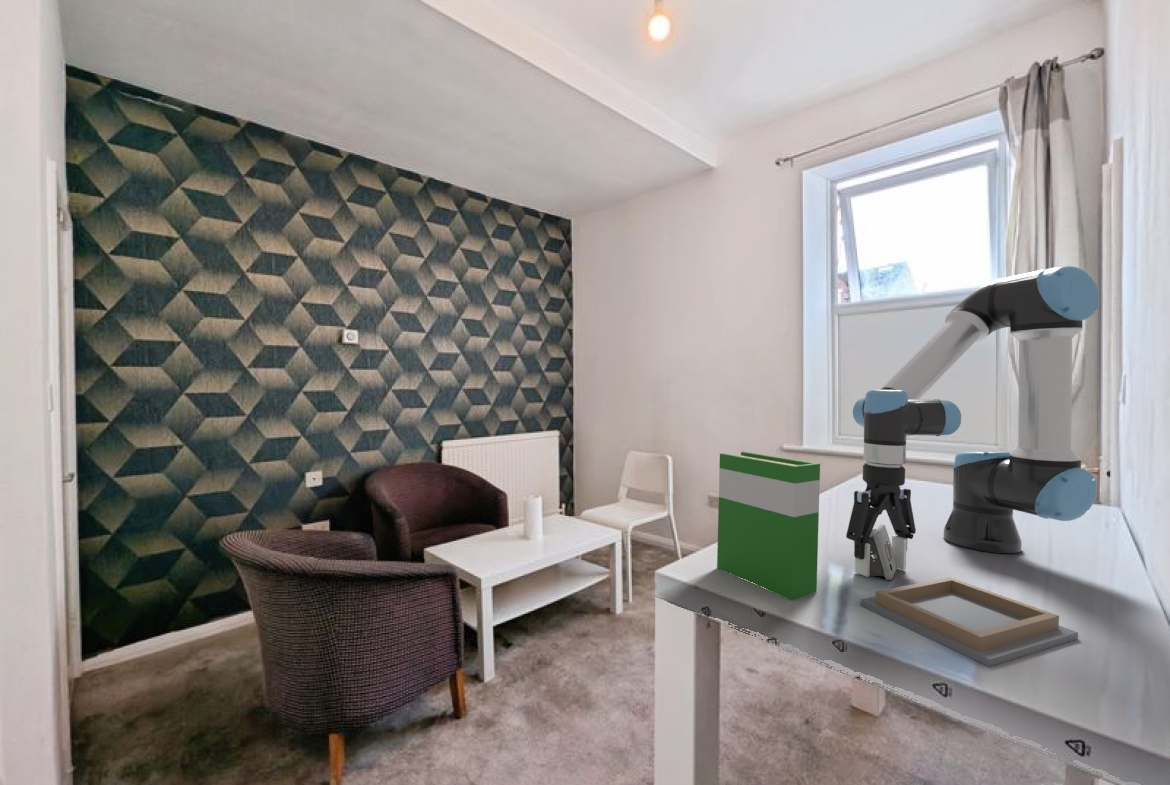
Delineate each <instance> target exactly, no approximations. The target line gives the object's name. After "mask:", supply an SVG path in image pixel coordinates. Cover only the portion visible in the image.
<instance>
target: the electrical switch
mask: <svg viewBox="0 0 1170 785" xmlns="http://www.w3.org/2000/svg"><path fill="white" fill-rule="evenodd" d="M862 537H863V536H862ZM867 543H868V544H870V572H869V577H875V576H876V577H877V576H878V577H884V578H885V580H886V581H891V580H892V579H893V577H894V575H895V574H896V572H897V570H898V568H897V564H896V560H895V557H894V553H893V550H892V542H891V539H890V536H889V533H888V530H887V528H886V525H885V524H879V526H878V527H877V528H873V529H872V532H871V534H870V536H869V539H868V541H867Z"/></svg>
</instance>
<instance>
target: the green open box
mask: <svg viewBox="0 0 1170 785" xmlns="http://www.w3.org/2000/svg"><path fill="white" fill-rule="evenodd" d="M718 469H719V473H718V475H719V476H718V477H719V478H718V479H719V480H718V512H717V513H718V515H717V521H718V522H717V550H716V551H717V552H716V553H717V556H716V559H717V560H716V562H717V563H716V568H718V569H717V570H720V569H721V570H720V571H722V570H723V572H724V571H726V572H725V573H727V572H728V573H727V574H729V573H731V574H733V575H735V576H734V577H736V576H738V577H740V578H743V579H746V580H748V581H750V582H753V583H755V584H757V585H759V586H762V587H764V588H766V589H768V590H770V591H773V592H775V593H777V594H779V595H778V596H780V595H781V596H780V597H782V596H783V597H782V598H784V597H786V598H785V599H787V598H788V599H787V600H789V599H790V600H789V601H791V600H792V601H795V600H797V599H801V598H803V596H804V597H806V595H807V596H809V594H810V595H812V594H814V592H815V593H817V591H818V590H817V588H818V587H817V586H818V585H817V584H818V582H817V581H818V551H819V550H818V549H819V517H820V516H819V515H820V488H821V487H820V483H821V482H820V479H821V463H819V462H811V461H804V460H799V459H794V458H793V459H792V458H786V457H780V456H774V455H768V454H761V453H755V452H749V451H740V455H734V454H733V455H732V454H728V453H719V468H718ZM731 574H730V575H731ZM733 575H732V576H733ZM738 577H737V578H738ZM740 578H739V579H740ZM743 579H742V580H743ZM750 582H749V583H750ZM757 585H756V586H757ZM759 586H758V587H759ZM766 589H765V590H766ZM768 590H767V591H768ZM770 591H769V592H770ZM773 592H772V593H773ZM775 593H774V594H775ZM811 593H812V594H811ZM777 594H776V595H777ZM800 597H801V598H800ZM794 599H795V600H794Z"/></svg>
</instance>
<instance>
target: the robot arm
mask: <svg viewBox="0 0 1170 785" xmlns="http://www.w3.org/2000/svg"><path fill="white" fill-rule="evenodd" d="M1099 305H1100V291H1099V289H1098V286H1097V283H1096V282H1095V280H1094V279H1093V277H1092V276H1091V275H1090V274H1088V273H1087V272H1086V271H1085V270H1083V268H1080V267H1076V266H1071V265H1070V266H1069V265H1066V266H1057V267H1050V268H1049V267H1048V268H1047V267H1046V268H1044V269H1040V270H1035V271H1031V272H1027V273H1021V274H1017V275H1012V276H1006V277H1001V278H997V279H995V280H993V281H990V282H988V283H986V284H985V285H982V286H980V287H979V288H977V289H976V290H974V291H973V292H971V294H969V295H967V297H965V298H964V299H963V300H962V301H961V302H959V303H958V304H957V305H956V306H955V307H954V308H953V309H951V311H950V312H949V313H948V314H947V315H946V316H945V319H944V322H945V323H944V324H943V325H942V326H941V327H940V328H939V329H938V330H937V332H936V333H934V334H933V336H932V337H931V338H929V340H928V341H927V342H925V343H924V345H923V346H922V347H921V348H920V349H919V350H918V351H917V352H916V353H914V355H913V356H912V357H911V358H910V359H909V360H908V361H907V362H906V363H905V364H904V365H902V367H901V368H900V369H899V370H898V371H897V372H896V373H895V375H893V376H892V377H891V378H890V379H889V381H887V383H886V384H884V385H883V387H882V388H880V389H869V390H868V391H867V392H866V394H865V397H862V398H859V399H858V400H856V402H855V403H854V405H853V408H852V417H853V419H854V421H855V423H856V424H858V425H859V426H860V427H862V428H863V457H862V458H863V459H862V460H863V461H864V462H865V463H864V464H862V481H864V482H865V483H866V488H865V490H864V491H860V490H855V491H854V492H853V505H852V509H851V513H850V514H851V515H850V518H849V522H848V527H847V532H846V535H845V538H847V539H848V540H851V541H853V542H854V543H853V544H854V547H853V548H854V549H853V552H854V553H853V554H854V555H853V556H854V558H855V559H854V572H855V573H856V574H859V575H862V576H863V577H870V574H869V572H870V544H868V543H867V541H868V539H869V536H870V534H871V532H872V530H873V529H874V527H875V525H876V522H877V519H878V517H879V516H880V515H881V514H883V511H886V514H887V516H888V519H889V522H890V524H891V526H892V528H893V532H894V534H893V535H891V546H892V550H893V553H894V557H895V560H896V564H897V569H900V570H902V571H905V570H907V551H908V539H909V540H913V538H914V535H915V533H916V531H917V529H916V524H915V518H914V512H913V508H912V501H911V499H912V498H911V494H912V490H911V489H909V488H906V487H901V486H903V485H905V483H906V468H905V467H904V465H905V464H906V462H907V437H909V436H934V437H941V436H948V435H952V434H954V433H956V431H958V430H959V429H960V426H961V424H962V413H961V410H960V408H959V407H958V406H957V404H955V403H954V402H953V401H949V400H944V399H921V398H922V397H923V396H924V395H925V394H926V393H927V392H928V391H929V390H930V389H931V388H932V387H933V386H935V384H936V383H937V382H938V381H939V380H940V379H941V378H942V377H943V376H944V375H945V373H946V372H947V371H948V370H949V369H951V367H952V366H953V365H954V364H955V363H956V362H957V361H958V360H960V358H961V357H962V356H963V355H964V354H965V353H966V352H967V351H968V350H969V349H970V348H971V346H973V345H974V344H975V343H976V342H981V341H983V340H985V339H986V338H987V337H988V336H990V334H992V333H993V332H995V331H997V330H1002V329H1004V328H1009V331H1010V332H1009V333H1010V335H1011V336H1013V337H1014V338H1016V339H1017V340H1018V415H1017V416H1018V419H1017V420H1018V424H1017V427H1018V428H1017V430H1018V437H1017V438H1018V441H1017V442H1018V443H1017V447H1016V448H1015V449H1013V450H1012V451H960V452H958V453H957V454H956V455H955V457H954V465H953V481H952V484H953V486H952V487H953V491H952V492H953V495H952V497H953V498H952V510H951V513H949V514H950V515H949V517H948V519H947V521H946V523H945V525H944V527H943V539H944V540H945V541H947V542H949V543H952V544H954V545H955V546H959V547H963V548H967V549H972V550H975V551H976V550H977V551H980V552H987V553H995V554H1018V553H1020V552H1021V551H1022V546H1023V545H1022V543H1023V542H1022V539H1021V536H1020V533H1019V530H1018V528H1017V525H1016V523H1015V520H1014V511H1017V512H1021V513H1025V514H1028V515H1029V514H1030V515H1033V516H1038V517H1040V518H1043V519H1049V520H1055V521H1062V522H1071V521H1074V520H1076V519H1079V518H1082V516H1084V515H1085V514H1086V513H1087V512H1088V511H1090V509H1091V508H1092V507H1093V505H1094V502H1095V501H1096V497H1097V495H1098V483H1097V480H1096V478H1094V477H1095V476H1094V475H1093V474H1092V473H1091V472H1090V471H1088V470H1086V469H1085V468H1082V458H1081V457H1080V456H1079V455H1078V454H1077V453H1075V451H1074V450H1072V411H1073V410H1072V407H1073V406H1072V405H1073V404H1072V401H1073V400H1072V398H1073V396H1072V395H1073V393H1072V392H1073V390H1072V388H1073V387H1072V386H1073V385H1072V384H1073V339H1074V337H1075V336H1076V335H1078V334H1079V333H1080V332H1081V331H1083V321H1086V320H1087V319H1089V318H1091V317H1092V316H1093V315H1095V313H1096V310H1097V309H1098V308H1099ZM862 536H863V537H862Z"/></svg>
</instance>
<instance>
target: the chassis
mask: <svg viewBox="0 0 1170 785" xmlns="http://www.w3.org/2000/svg"><path fill="white" fill-rule="evenodd" d="M860 606H861V607H863V608H865V609H867V610H870V611H871V612H873V613H875V614H877V615H880V616H882V617H884V618H886V619H889V620H890V621H892V622H894V623H896V624H899V625H901V626H903V627H905V628H907V629H909V630H911V631H913V632H916V633H917V634H920V635H922V636H924V637H926V638H928V639H931V640H932V641H935V642H936V643H939V644H941V645H943V646H945V647H947V648H949V649H951V650H953V651H956V652H958V653H960V654H961V655H963V656H966V657H967V658H971V659H973V660H974V661H977V662H978V663H981V665H982V664H983V665H984V666H987V667H993V666H995V665H999V664H1002V663H1005V662H1008V661H1011V660H1014V659H1018V658H1021V657H1025V656H1028V655H1031V654H1034V653H1037V652H1040V651H1043V650H1046V649H1050V648H1053V647H1056V646H1055V645H1057V646H1059V645H1058V644H1060V643H1063V644H1065V643H1064V642H1066V643H1068V642H1067V641H1069V642H1072V641H1075V639H1076V640H1078V639H1079V632H1078V631H1075V630H1072V629H1070V628H1068V627H1064V626H1061V625H1060V615H1058V614H1055V613H1053V612H1050V611H1048V610H1047V611H1046V610H1043V609H1041V608H1038V607H1035V606H1032V605H1030V604H1027V603H1024V602H1022V601H1018V600H1015V599H1012V598H1010V597H1008V596H1007V597H1006V596H1004V595H1002V594H998V593H996V592H994V591H989V590H988V589H985V588H982V587H979V586H976V585H973V584H969V583H967V582H965V581H963V580H962V581H961V580H958V579H956V578H952V577H950V576H948V577H942V578H937V579H931V580H928V581H922V582H918V583H917V582H916V583H913V584H908V585H903V586H902V585H901V586H896V587H891V588H886V589H881V590H877V591H876V590H875V596H872V597H868V598H863V599H860ZM1060 645H1061V644H1060ZM1052 646H1053V647H1052ZM1049 647H1050V648H1049Z"/></svg>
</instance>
